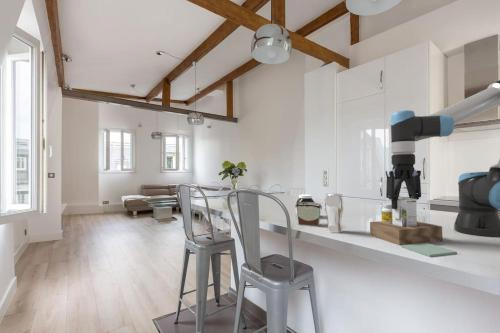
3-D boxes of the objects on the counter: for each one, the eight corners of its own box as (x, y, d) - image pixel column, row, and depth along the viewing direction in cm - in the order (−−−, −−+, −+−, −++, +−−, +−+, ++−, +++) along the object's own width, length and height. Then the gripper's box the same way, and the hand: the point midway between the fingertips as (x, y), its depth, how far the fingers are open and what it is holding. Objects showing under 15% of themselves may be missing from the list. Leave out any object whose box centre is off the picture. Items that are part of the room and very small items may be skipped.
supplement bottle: (398, 226, 117) (397, 204, 117) (389, 227, 115) (389, 205, 115) (387, 224, 122) (387, 203, 122) (379, 225, 120) (378, 203, 120)
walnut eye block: (409, 231, 106) (408, 219, 107) (442, 240, 93) (442, 226, 93) (370, 235, 102) (370, 222, 102) (399, 245, 88) (399, 230, 88)
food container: (326, 224, 122) (325, 202, 123) (321, 227, 117) (321, 204, 117) (300, 222, 129) (300, 201, 129) (295, 224, 124) (295, 202, 124)
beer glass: (344, 233, 105) (344, 195, 105) (326, 232, 107) (325, 195, 107) (342, 229, 112) (341, 193, 112) (325, 229, 114) (324, 193, 114)
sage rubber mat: (426, 244, 89) (426, 242, 89) (456, 253, 79) (456, 251, 79) (401, 247, 86) (401, 245, 86) (429, 256, 77) (429, 254, 77)
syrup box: (391, 236, 99) (391, 197, 100) (404, 235, 101) (403, 196, 101) (404, 240, 94) (403, 199, 94) (418, 239, 96) (417, 198, 96)
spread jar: (297, 218, 139) (297, 196, 139) (293, 214, 150) (293, 194, 150) (320, 218, 139) (320, 195, 139) (315, 214, 150) (314, 193, 150)
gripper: (415, 154, 104) (416, 214, 104) (373, 154, 99) (374, 217, 99) (433, 153, 97) (434, 218, 96) (389, 153, 92) (390, 221, 92)
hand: (404, 217), depth 98 cm, fingers closed on syrup box, 6 cm apart
